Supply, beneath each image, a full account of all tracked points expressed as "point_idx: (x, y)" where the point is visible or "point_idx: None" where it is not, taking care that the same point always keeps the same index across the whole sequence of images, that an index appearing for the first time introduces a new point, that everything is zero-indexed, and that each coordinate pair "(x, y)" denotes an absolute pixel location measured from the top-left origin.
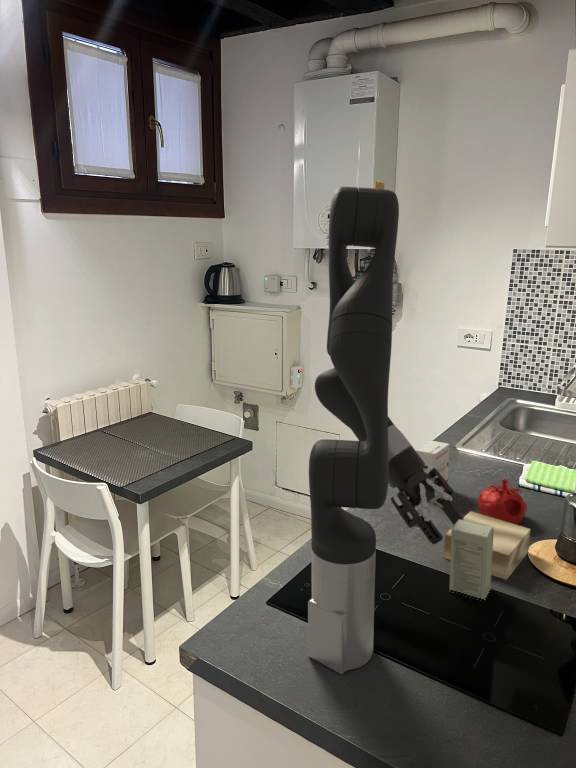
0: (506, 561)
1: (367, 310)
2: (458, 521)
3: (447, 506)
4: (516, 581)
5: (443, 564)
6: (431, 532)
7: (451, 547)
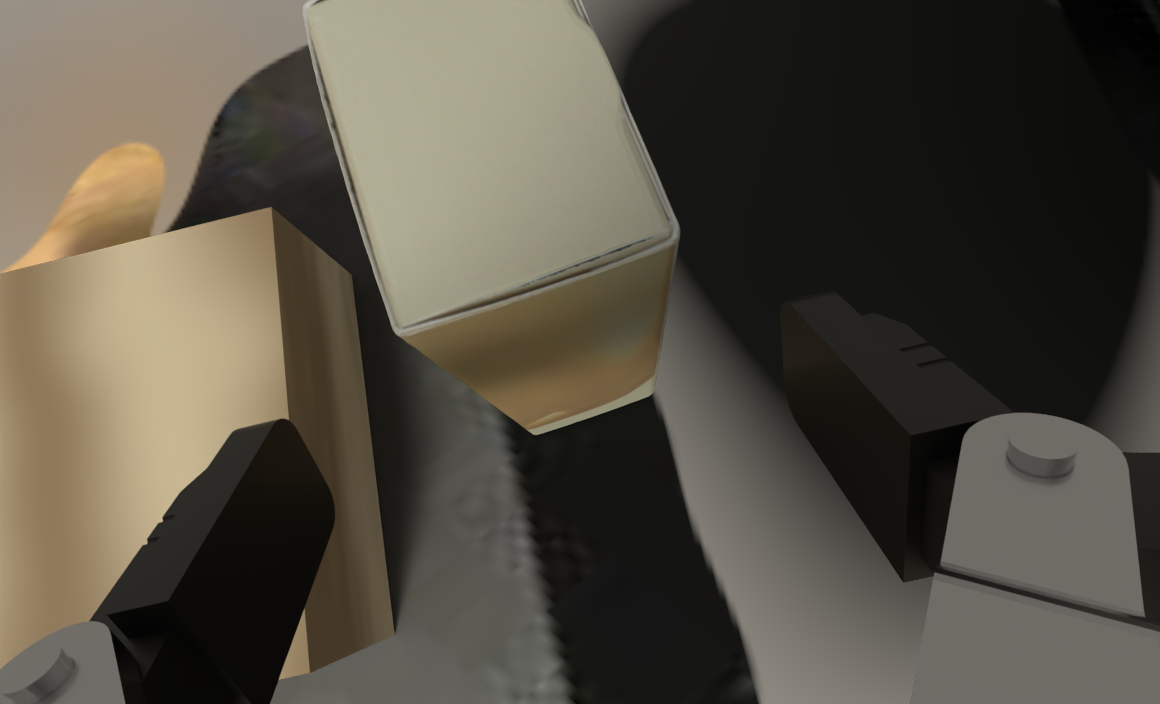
0: (296, 235)
1: None
2: (460, 296)
3: (218, 635)
4: (326, 242)
5: (458, 586)
6: (938, 357)
7: (667, 307)
